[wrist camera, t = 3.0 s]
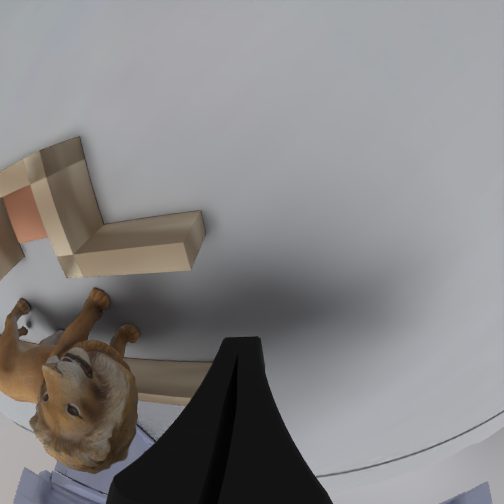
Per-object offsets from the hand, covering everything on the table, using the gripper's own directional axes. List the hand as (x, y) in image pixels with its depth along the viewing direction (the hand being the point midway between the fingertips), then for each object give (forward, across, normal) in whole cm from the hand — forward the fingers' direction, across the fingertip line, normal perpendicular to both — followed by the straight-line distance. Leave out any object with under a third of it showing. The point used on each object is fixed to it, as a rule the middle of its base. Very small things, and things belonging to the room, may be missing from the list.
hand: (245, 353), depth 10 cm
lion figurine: (+3, +10, 0) cm, 11 cm away
